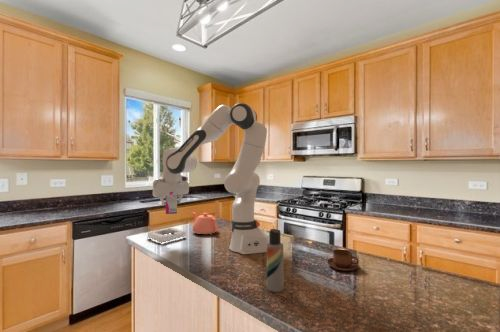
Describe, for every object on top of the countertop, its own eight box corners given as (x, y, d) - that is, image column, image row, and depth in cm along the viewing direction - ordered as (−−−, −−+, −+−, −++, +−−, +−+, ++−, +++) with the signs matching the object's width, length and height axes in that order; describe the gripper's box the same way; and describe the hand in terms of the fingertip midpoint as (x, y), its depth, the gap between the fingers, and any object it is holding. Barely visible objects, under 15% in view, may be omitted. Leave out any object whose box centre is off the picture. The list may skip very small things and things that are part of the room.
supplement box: (177, 211, 141) (177, 190, 141) (177, 213, 136) (176, 191, 136) (166, 212, 140) (166, 191, 140) (165, 214, 134) (165, 192, 134)
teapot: (183, 232, 161) (182, 212, 161) (201, 227, 173) (201, 209, 173) (207, 238, 148) (207, 216, 148) (225, 232, 160) (225, 212, 160)
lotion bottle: (273, 282, 92) (272, 226, 92) (286, 287, 88) (286, 229, 88) (263, 288, 87) (263, 230, 87) (277, 294, 84) (277, 232, 84)
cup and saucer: (356, 263, 110) (356, 248, 110) (360, 275, 98) (360, 258, 98) (327, 260, 113) (327, 246, 113) (327, 271, 101) (327, 256, 101)
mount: (171, 234, 158) (171, 226, 158) (185, 238, 148) (185, 230, 148) (147, 239, 146) (147, 231, 146) (161, 244, 137) (161, 235, 137)
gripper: (156, 179, 128) (156, 207, 128) (190, 177, 143) (190, 202, 143) (150, 179, 132) (150, 205, 132) (183, 177, 147) (183, 201, 147)
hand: (171, 204), depth 138 cm, fingers closed on supplement box, 8 cm apart
